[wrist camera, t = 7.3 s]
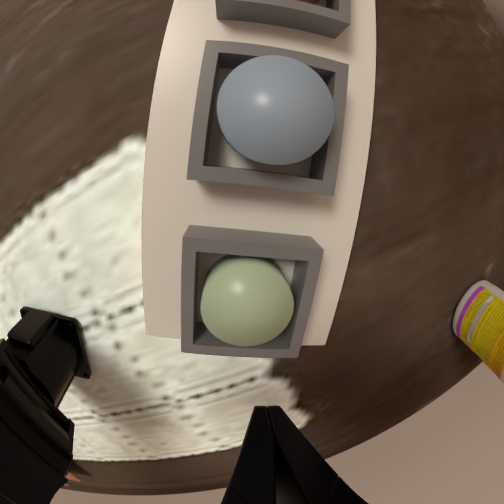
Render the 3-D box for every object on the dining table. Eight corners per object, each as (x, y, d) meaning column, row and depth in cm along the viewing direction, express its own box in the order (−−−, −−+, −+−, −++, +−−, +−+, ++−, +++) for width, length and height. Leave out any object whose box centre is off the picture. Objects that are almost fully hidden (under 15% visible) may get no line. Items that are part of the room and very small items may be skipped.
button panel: (321, 337, 20) (335, 366, 17) (149, 326, 19) (137, 356, 16) (367, -20, 11) (387, -39, 8) (196, -50, 10) (192, -76, 6)
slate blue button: (311, 170, 14) (326, 173, 11) (213, 158, 13) (209, 157, 11) (321, 81, 12) (338, 69, 10) (225, 65, 11) (225, 48, 9)
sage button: (278, 325, 18) (284, 347, 16) (202, 320, 17) (199, 343, 15) (291, 254, 16) (302, 270, 14) (206, 247, 16) (202, 262, 13)
